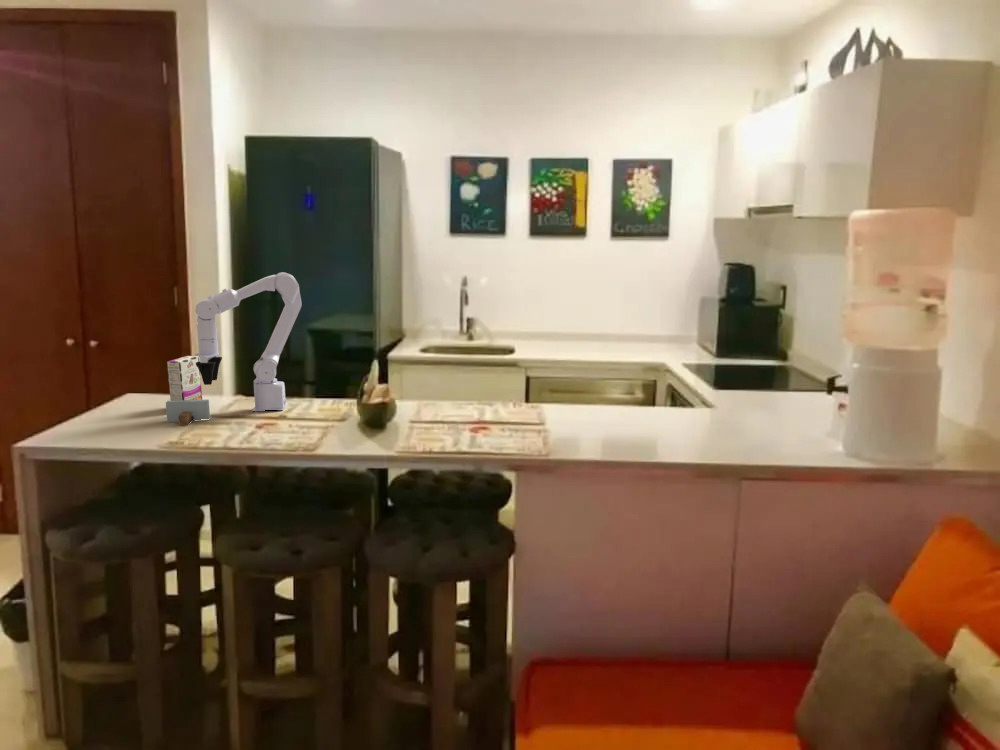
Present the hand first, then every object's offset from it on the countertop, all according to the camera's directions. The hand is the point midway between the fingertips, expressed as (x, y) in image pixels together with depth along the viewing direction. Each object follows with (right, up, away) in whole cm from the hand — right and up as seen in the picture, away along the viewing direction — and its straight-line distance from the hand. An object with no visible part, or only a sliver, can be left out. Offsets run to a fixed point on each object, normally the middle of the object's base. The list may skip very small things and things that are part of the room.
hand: (210, 382), depth 268 cm
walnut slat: (-4, -11, -8) cm, 14 cm away
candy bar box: (-11, -9, +10) cm, 17 cm away
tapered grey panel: (-4, -11, -8) cm, 14 cm away
